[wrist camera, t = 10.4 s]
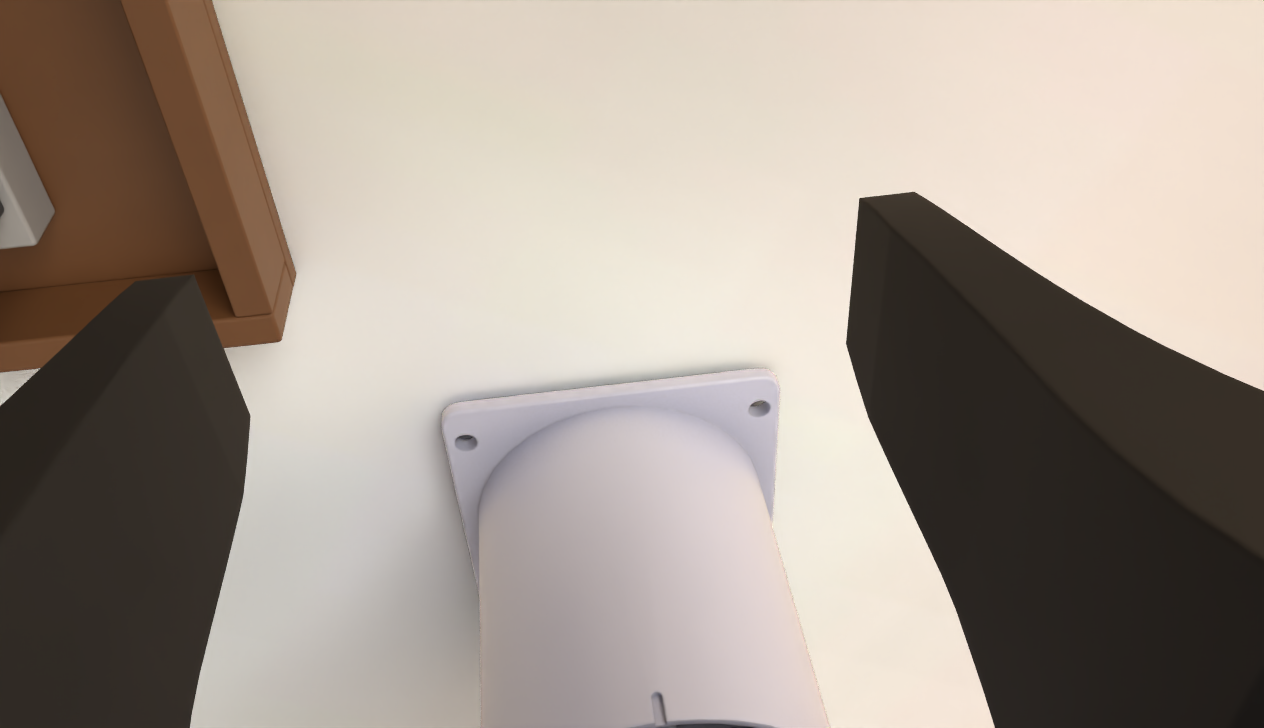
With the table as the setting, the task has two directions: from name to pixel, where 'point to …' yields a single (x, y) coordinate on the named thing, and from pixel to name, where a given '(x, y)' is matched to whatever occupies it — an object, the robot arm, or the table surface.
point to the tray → (134, 172)
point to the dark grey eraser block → (19, 190)
